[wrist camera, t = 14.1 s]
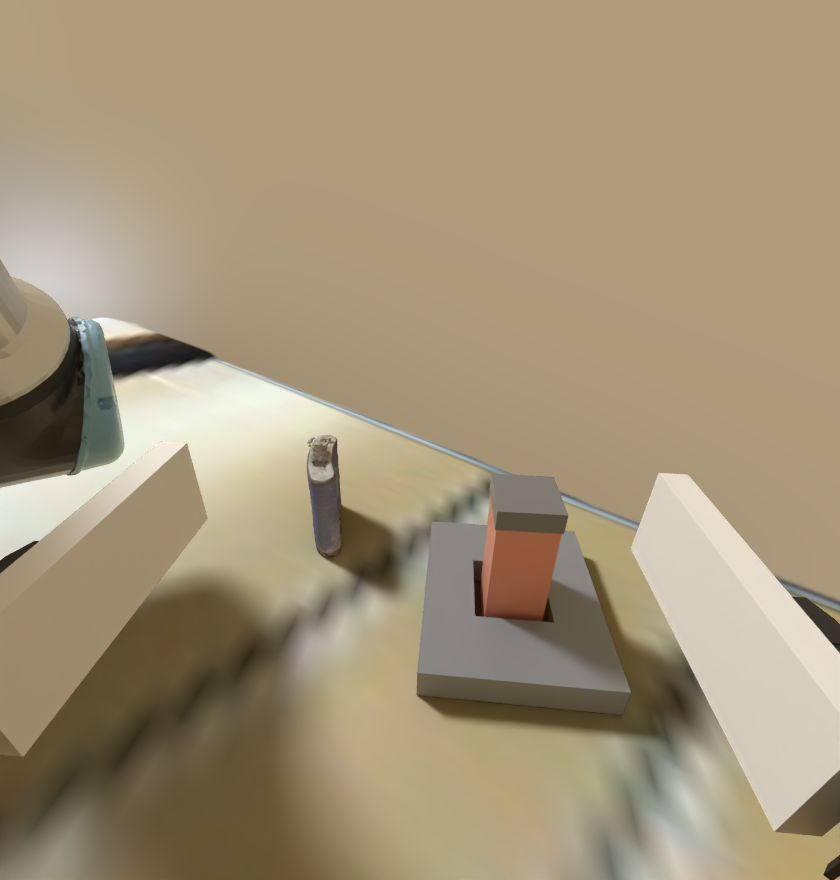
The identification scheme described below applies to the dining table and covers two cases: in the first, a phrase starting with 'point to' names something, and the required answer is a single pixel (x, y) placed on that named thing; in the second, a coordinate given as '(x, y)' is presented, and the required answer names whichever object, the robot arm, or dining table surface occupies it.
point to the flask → (325, 493)
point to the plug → (521, 546)
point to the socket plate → (515, 635)
